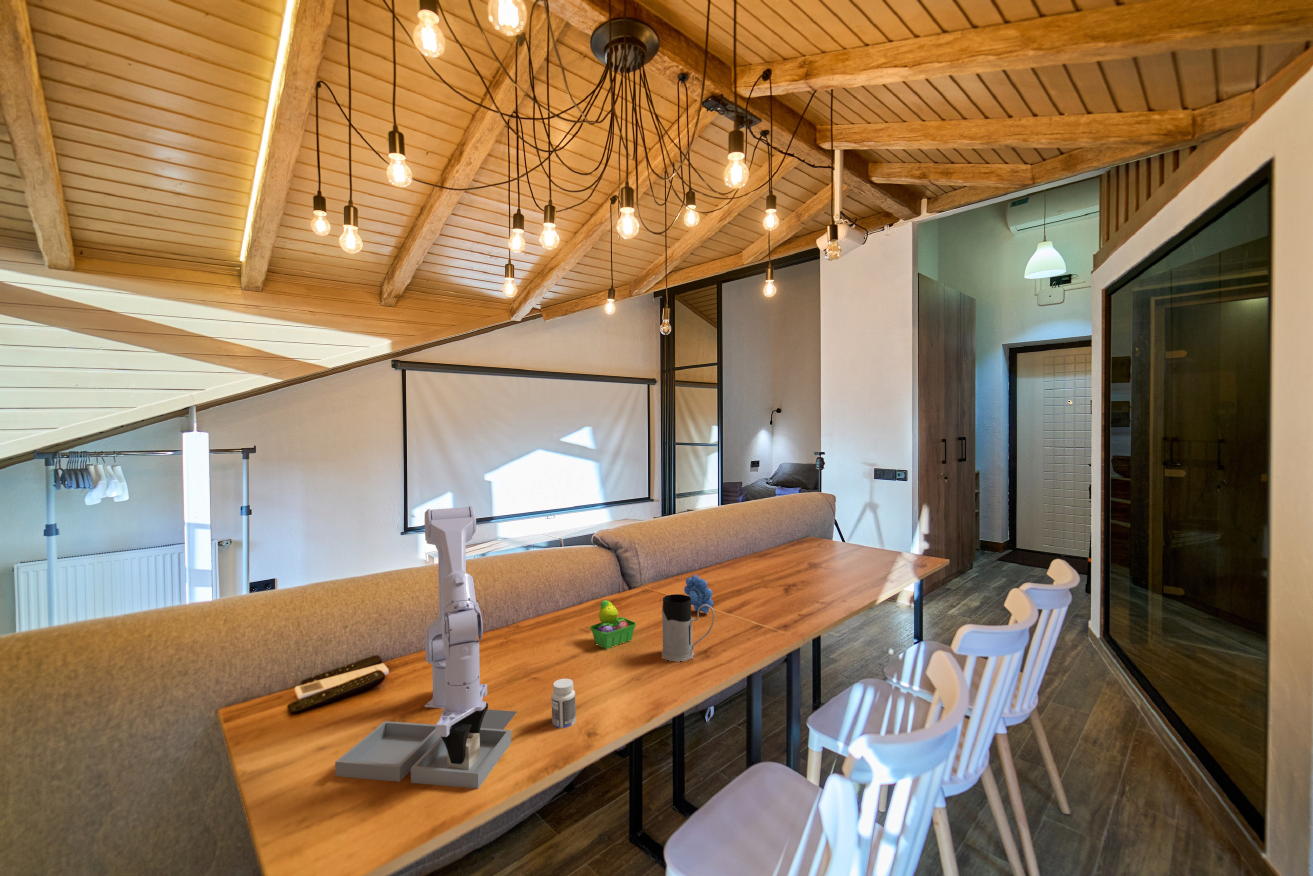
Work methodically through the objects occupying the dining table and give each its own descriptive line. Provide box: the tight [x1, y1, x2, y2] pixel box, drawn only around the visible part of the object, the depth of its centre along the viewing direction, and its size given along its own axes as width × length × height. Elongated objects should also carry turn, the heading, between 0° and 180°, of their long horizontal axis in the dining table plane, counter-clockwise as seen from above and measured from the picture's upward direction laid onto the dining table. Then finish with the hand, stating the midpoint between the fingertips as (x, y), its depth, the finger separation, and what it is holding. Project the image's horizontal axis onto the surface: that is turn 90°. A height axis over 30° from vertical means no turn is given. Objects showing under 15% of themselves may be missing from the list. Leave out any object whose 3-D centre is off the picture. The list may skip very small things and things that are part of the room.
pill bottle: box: [551, 678, 577, 729], centre depth 107 cm, size 5×5×8 cm
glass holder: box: [660, 593, 715, 663], centre depth 140 cm, size 9×14×15 cm, turn 78°
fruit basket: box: [589, 599, 637, 650], centre depth 150 cm, size 11×9×11 cm
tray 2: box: [410, 728, 512, 790], centre depth 94 cm, size 13×12×3 cm
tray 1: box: [334, 720, 440, 782], centre depth 96 cm, size 13×12×3 cm
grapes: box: [683, 574, 714, 614], centre depth 173 cm, size 12×7×12 cm, turn 48°
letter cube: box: [447, 733, 480, 769], centre depth 94 cm, size 4×4×4 cm
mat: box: [481, 708, 518, 730], centre depth 107 cm, size 10×10×1 cm
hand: (463, 754), depth 94 cm, fingers closed on letter cube, 4 cm apart
